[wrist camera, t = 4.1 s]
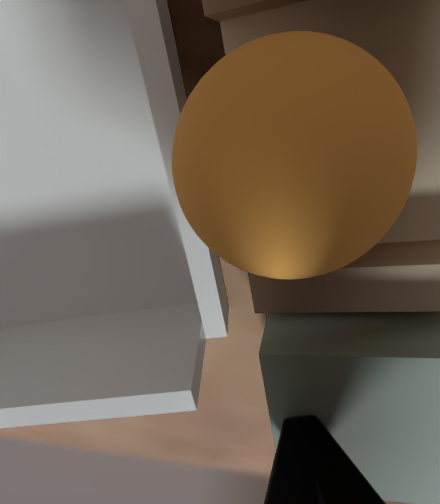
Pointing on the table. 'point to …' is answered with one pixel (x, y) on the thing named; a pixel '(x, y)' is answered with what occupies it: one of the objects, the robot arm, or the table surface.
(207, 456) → the table surface
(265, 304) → the lever
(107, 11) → the bin
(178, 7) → the table surface
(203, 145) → the ball
